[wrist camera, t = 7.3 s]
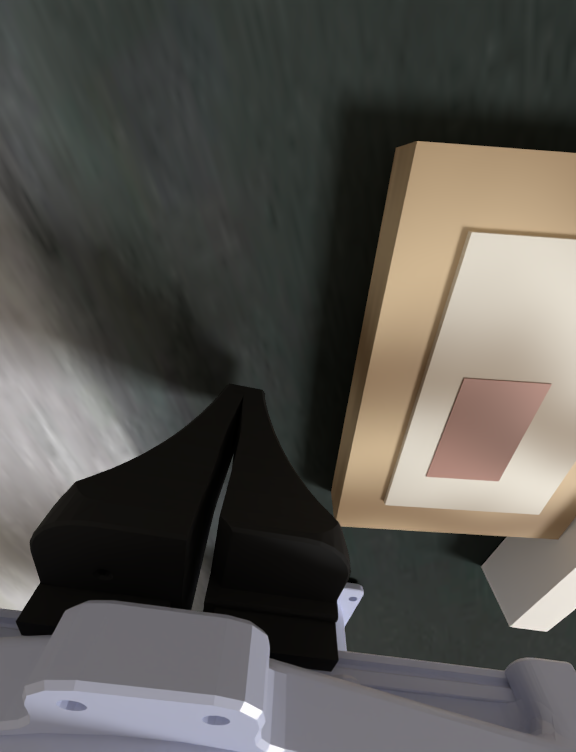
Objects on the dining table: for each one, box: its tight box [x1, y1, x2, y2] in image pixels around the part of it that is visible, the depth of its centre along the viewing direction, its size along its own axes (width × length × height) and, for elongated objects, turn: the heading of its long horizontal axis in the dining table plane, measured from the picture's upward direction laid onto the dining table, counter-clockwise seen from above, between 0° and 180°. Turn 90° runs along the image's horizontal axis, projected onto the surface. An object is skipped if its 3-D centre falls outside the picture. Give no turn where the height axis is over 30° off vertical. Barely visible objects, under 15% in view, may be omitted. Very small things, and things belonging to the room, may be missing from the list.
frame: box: [331, 141, 576, 540], centre depth 12 cm, size 14×10×3 cm
